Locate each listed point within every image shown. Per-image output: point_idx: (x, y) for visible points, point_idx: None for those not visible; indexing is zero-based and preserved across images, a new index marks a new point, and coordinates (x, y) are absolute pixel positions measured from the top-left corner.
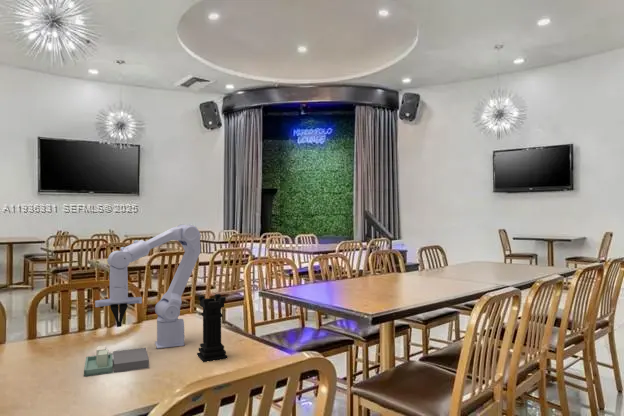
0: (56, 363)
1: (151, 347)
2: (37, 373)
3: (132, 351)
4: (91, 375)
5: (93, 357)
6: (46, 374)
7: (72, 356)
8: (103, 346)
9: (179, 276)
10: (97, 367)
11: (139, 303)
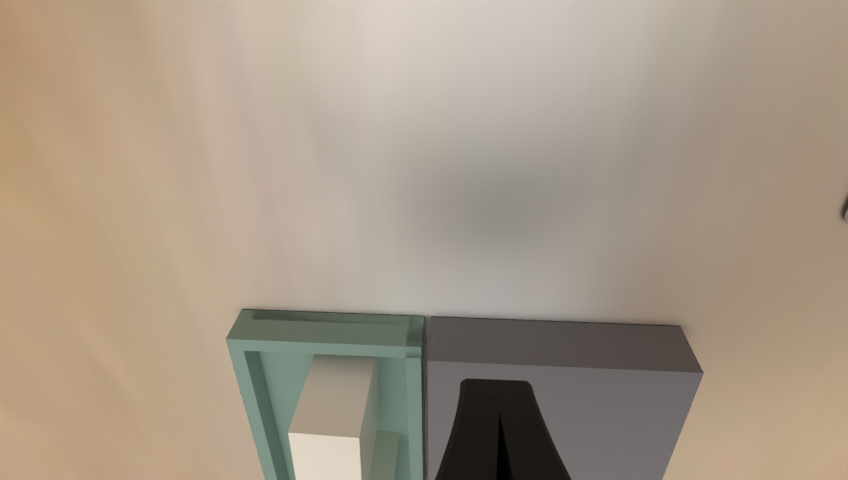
0: (20, 244)
1: (823, 135)
2: (3, 374)
3: (573, 415)
4: None
5: (283, 346)
6: (69, 405)
7: (66, 110)
8: (342, 454)
9: None
10: None
11: None
